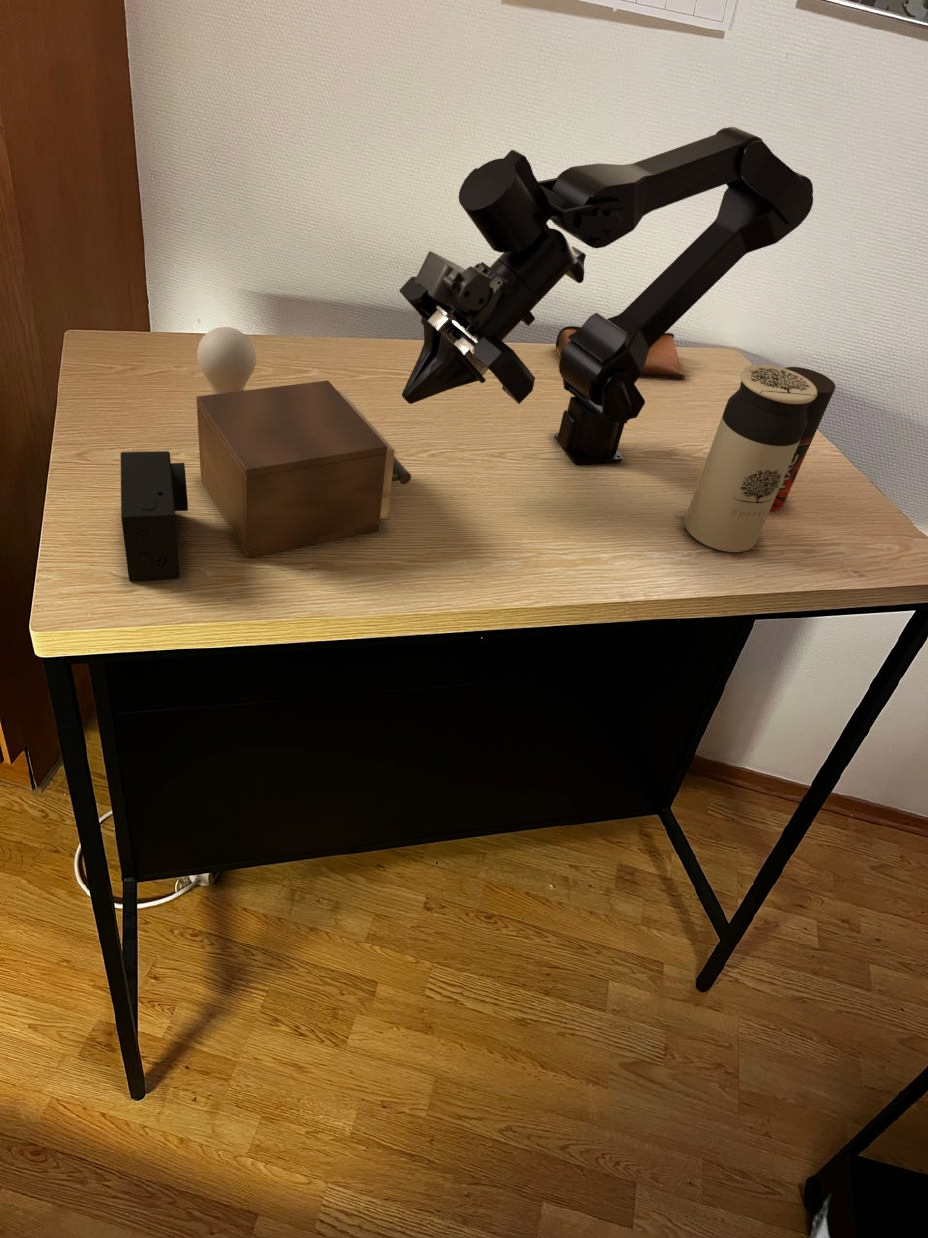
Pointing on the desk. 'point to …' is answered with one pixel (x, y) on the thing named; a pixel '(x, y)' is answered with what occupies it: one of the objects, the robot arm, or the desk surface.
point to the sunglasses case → (658, 360)
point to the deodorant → (806, 429)
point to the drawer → (386, 465)
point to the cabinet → (290, 466)
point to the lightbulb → (226, 359)
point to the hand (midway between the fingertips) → (405, 399)
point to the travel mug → (749, 457)
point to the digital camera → (151, 513)
